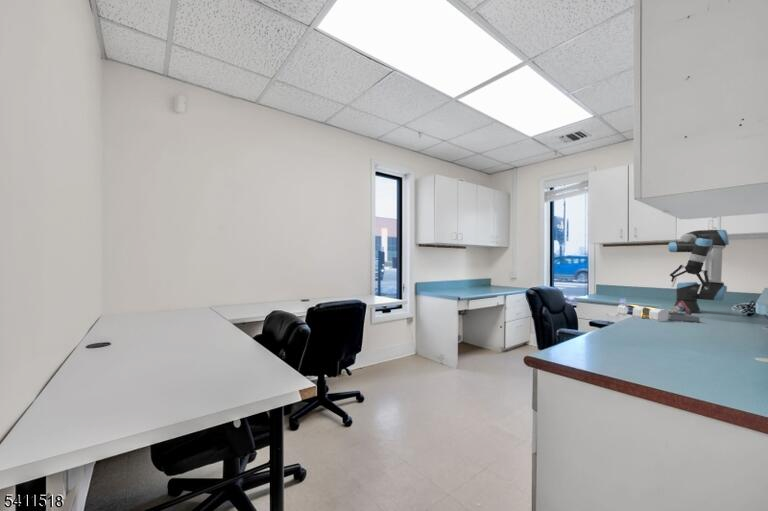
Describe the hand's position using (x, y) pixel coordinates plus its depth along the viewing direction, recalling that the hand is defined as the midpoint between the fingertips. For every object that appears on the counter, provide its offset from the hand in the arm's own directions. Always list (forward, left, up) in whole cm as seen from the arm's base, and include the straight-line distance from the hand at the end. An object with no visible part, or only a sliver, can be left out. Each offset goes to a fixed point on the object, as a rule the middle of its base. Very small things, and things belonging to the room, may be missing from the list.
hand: (684, 290), depth 213 cm
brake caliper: (-1, -7, -20) cm, 21 cm away
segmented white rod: (+30, +15, -20) cm, 39 cm away
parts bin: (+8, +12, -19) cm, 24 cm away
